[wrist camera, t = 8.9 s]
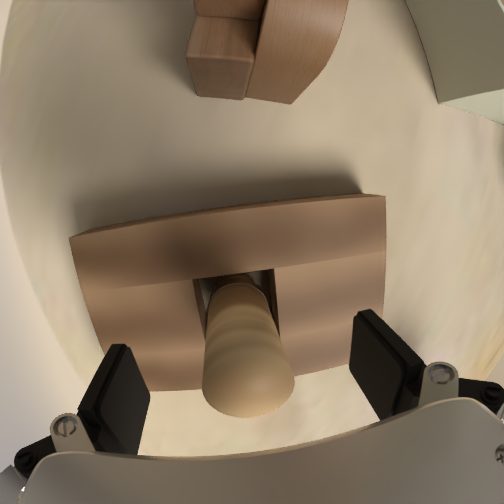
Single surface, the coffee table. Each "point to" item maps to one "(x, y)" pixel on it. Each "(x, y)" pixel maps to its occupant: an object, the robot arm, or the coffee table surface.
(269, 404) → the peg
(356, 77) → the coffee table surface
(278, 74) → the wooden toy
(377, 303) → the board
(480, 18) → the crate
